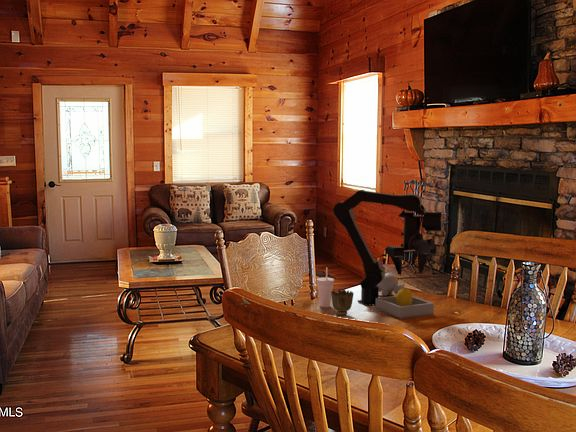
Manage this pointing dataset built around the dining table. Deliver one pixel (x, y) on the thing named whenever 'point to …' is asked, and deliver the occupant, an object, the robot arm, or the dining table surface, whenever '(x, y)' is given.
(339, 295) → the cup
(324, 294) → the smoothie
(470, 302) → the dining table surface
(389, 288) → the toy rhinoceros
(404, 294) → the lemon
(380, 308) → the bin
